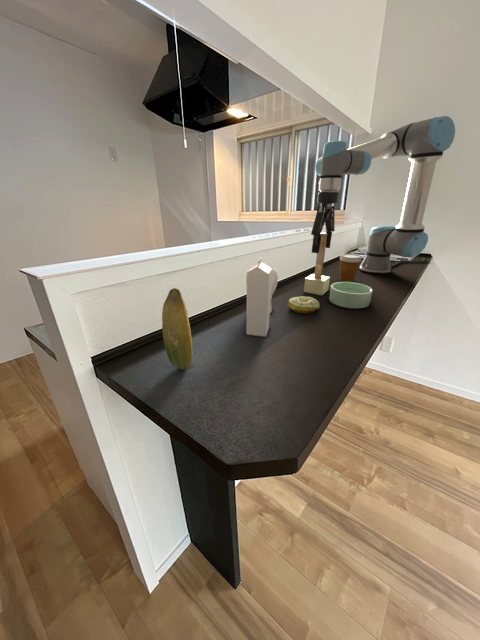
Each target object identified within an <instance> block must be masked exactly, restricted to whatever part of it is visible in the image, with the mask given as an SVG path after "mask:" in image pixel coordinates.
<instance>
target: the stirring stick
mask: <svg viewBox="0 0 480 640" xmlns="http://www.w3.org/2000/svg"><path fill="white" fill-rule="evenodd" d="M320 235H321V242H320V249H319V253H316V258H315V259H316V260H315V267H314V274H315V275H314V278H317V279H321V277H322V276H323V271H324V270H323V269H324V261H325V254H326V249H327V248H326V240H327V233H325V232H321V234H320Z"/></svg>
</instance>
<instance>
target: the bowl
mask: <svg viewBox="0 0 480 640" xmlns="http://www.w3.org/2000/svg"><path fill="white" fill-rule="evenodd" d="M373 291H374V290H373V287H371V286H369V285H366V284H363V283H360V282H355V281H353V282H342V281H338V282H333V283H331V285H330V290H329V295H328V300H329V301H330V303H331V304H333V305H335V306H338V307H341V308H347V309H364V308H367V307H369V306H370V305H371V300H372V296H373Z"/></svg>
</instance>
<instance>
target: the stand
mask: <svg viewBox="0 0 480 640" xmlns="http://www.w3.org/2000/svg"><path fill="white" fill-rule="evenodd" d="M314 275H315V273H311V274H310V275H308V276H307V277H305V279H304V287H303V293H308V294H313V295H318V296H323V295H325V293H326V292H328V291H329V286H330V280H331V276H326V275H322V277H321V279H317V278H314Z"/></svg>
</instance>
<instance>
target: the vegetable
mask: <svg viewBox="0 0 480 640" xmlns="http://www.w3.org/2000/svg"><path fill="white" fill-rule="evenodd" d="M188 313H189V312H188V309H187V306H186V302H185V301H184V297H183V296H182V293H181V290H179V289H178V288H176V287H173V288H171V289H170V290H169V291H168V294H167V296H166V299H165V301H164V302H163V306H162V311H161V322H162V323H161V324H162V326H161V329H162V340H163V345H164V348H165V351H166V355H167V358H168V360H169V362H170V364H171V365H172V366H173V367H174V368H176V369H179V370H186V369H188V368H190V366H191V364H192V362H193V340H192V332H191V331H192V330H191V325H190V318H189V315H188Z"/></svg>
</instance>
